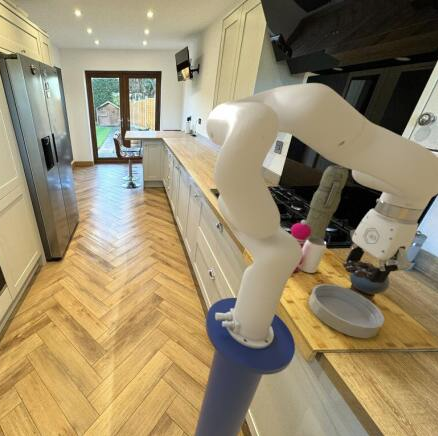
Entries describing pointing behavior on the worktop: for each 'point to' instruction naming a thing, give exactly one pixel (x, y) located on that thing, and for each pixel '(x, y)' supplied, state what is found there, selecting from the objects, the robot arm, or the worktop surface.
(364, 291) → the ball stand
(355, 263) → the chocolate capsule cluster
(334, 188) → the moai statue figurine
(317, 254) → the can
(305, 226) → the pepper mill
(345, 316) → the bowl
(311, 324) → the worktop surface
